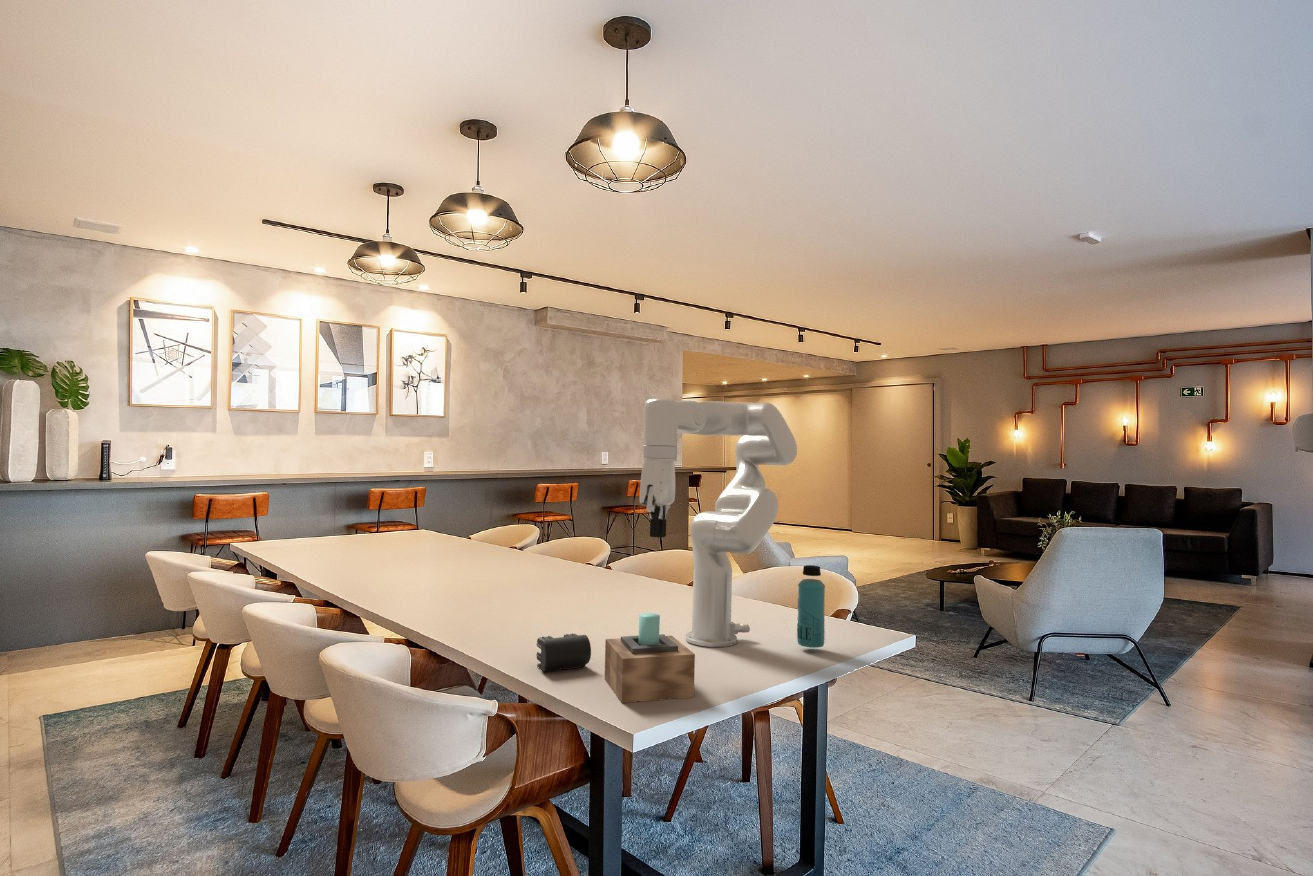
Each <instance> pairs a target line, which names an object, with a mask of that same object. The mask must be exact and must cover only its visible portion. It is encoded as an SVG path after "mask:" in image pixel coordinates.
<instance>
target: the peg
mask: <svg viewBox="0 0 1313 876" xmlns="http://www.w3.org/2000/svg"><path fill="white" fill-rule="evenodd" d="M660 620H661V615H660V614H657V613H653V612H652V613H651V612H645V613H640V614H639V616H638V636H639V646H644V645H659V635H660V626H661V625H660V622H661V621H660Z"/></svg>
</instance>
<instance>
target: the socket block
mask: <svg viewBox="0 0 1313 876" xmlns="http://www.w3.org/2000/svg"><path fill="white" fill-rule="evenodd" d="M604 643H605V645H604V646H605V649H604V650H605V651H604V655H605V656H604V680H605V682H606V684H608V687H610V689H611V690H612V692H613V693H614V695H615V694H616V695H615V696H616V698H617V699H618V698H619V699H618V700H619V701H621V702H620V703H621V704H625V703H626V704H627V703H637V701H641V702H651V701H650V700H653V701H661V700H660V699H665V700H670V699H669V698H678V699H687V698H688V699H689V697H690V698H694V697H695V673H696V672H695V667H696V666H695V664H696V654H695V653H694V652H693V651H691V650H690V649H689V648H688V647H687V646H685V645H684V644H683V643H682V642H680V641H679V640H678V639H676V638H675V637H674V636H673V635H665V634H663V633H662V634H659V645H644V646H639V635H628V636H627V635H626V636H620V638H605V642H604Z"/></svg>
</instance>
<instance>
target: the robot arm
mask: <svg viewBox="0 0 1313 876" xmlns="http://www.w3.org/2000/svg"><path fill="white" fill-rule="evenodd" d="M643 412H644V414H643V420H644V421H643V447H642V449H643V450H642V455H643V456H642V460H643V462H642V463H643V464H642V468H641V474H640V475H641V476H640V484H639V485H640V486H639V504H641V505H642V506H646V512H649V520H650V521H649V522H650V523H649V536H650V537H651V538H658V539H660V538H661V539H663V538H665V537H666V536H667V519H668V510H669V509H671V505H672V504H673V503H674V502H675V499H676V498H675V497H676V467H675V462H678V459H677V457H678V434H688V435H689V434H691V435H700V436H732V437H733V436H736V437H737V436H739V438H738V440H737V442H736V445H735V449H734V450H735V451H734V453H735V465H736V467H735V468H736V472H735V475H734V476H733V477H732V479H731V481H729V483H728V484H727V485H726V486H725V488H724V490H723V491H722V492H721V493H720V494H719V496H718V498H717V499H716V502H715V506H714V507H715V508H714V509H715V510H712V511H711V510H710V511H709V510H708V511H702V512H700V513H698V514H696V515H695V516H694V517H693V519H692V520H691V524H690V527H689V528H690V529H689V535H690V541H691V547H692V556H693V559H692V560H693V574H692V575H693V577H692V578H693V579H692V580H693V581H692V583H693V584H692V585H693V586H692V618H691V619H692V621H691V622H692V623H691V624H692V625H691V626H692V627H691V631H689V632H687V633H686V634H685V640H686V642H688V643H690V644H692V645H694V646H695V645H696V646H700V647H707V648H708V647H709V648H710V647H711V648H722V647H729V646H732V645H735V644H737V642H738V637H737V635H738V633H742V634H743V633H750V629H751V628H750V625H749V623H747V624H741V623H740V622H739V623H735V622H734V621H732V604H733V603H732V602H733V601H732V600H733V599H732V597H733V596H732V595H733V590H732V589H733V567H732V564H731V560H730V559H729V556H728V554H727V553H729V554H730V553H731V554H738V555H747V554H748V555H749V554H750V553H753V552H754V551H755V550H756V548H757V547H758V546H759V545H760V543H761V542H762V541H763V539H764V538H765V536H766V535H767V533H768V532H769V530H770V529H771V527H772V526H773V524H774V523H775V522H776V518H777V517H778V513H779V500H778V496H777V495H776V493H775V492H774V491H773V490H772V489H770V488H767V487H766V482H765V478H764V475H763V474H762V472H761V471H760V467H759V465H760V466H762V465H763V466H787V465H790V464H792V463H794V461H795V460H796V457H797V454H798V445H797V441H796V439H795V436H794V434H793V433H792V430H791V428H790V427H789V426H788V422H787V421H786V420H785V418H784V416H783V414H782V413H781V412H780V410H779V409H778V408H777V406H775V405H774V404H772V402H771V403H770V402H731V401H730V402H729V401H728V402H727V401H720V400H716V401H715V400H712V401H710V400H709V401H700V402H699V401H696V400H674V399H671V398H670V399H669V398H650V399H647V400H646V401H645V403H644V411H643Z"/></svg>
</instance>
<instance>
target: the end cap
mask: <svg viewBox="0 0 1313 876" xmlns="http://www.w3.org/2000/svg"><path fill="white" fill-rule="evenodd" d="M536 647H538V648H539V649H540V652H539V651H537V652H536V654H535V655H536V656H535V657H536V659H537V660H538V662H539V663H537V664H536V666H537V668H538V667H539V668H540V669H541V670H542V671H543V673H546V672H547V673H548V672H553V671H561V670H569V669H577V668H584V667H585V666H586V665H587V664H589V663H590V661H591V657H592V647H591V642H590V639H589V637H588V636H587V634H581V635H580V634H579V635H578V634H576V633H570V634H568V633H565V634H563V636H561V637H560V636H559V637H552V636H551V635H548V636H539V637H538V638H537V640H536ZM539 668H538V669H539ZM540 669H539V670H540ZM541 670H540V671H541ZM542 671H541V672H542Z"/></svg>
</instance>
